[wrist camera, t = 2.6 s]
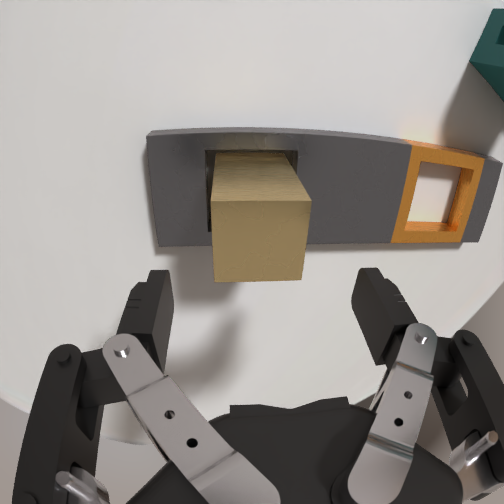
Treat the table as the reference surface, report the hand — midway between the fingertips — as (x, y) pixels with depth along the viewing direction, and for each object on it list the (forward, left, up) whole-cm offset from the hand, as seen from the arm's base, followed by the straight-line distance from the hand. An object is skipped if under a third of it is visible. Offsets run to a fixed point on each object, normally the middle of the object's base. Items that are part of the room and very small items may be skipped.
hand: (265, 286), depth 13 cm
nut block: (0, 0, -11) cm, 11 cm away
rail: (0, +7, -11) cm, 13 cm away
